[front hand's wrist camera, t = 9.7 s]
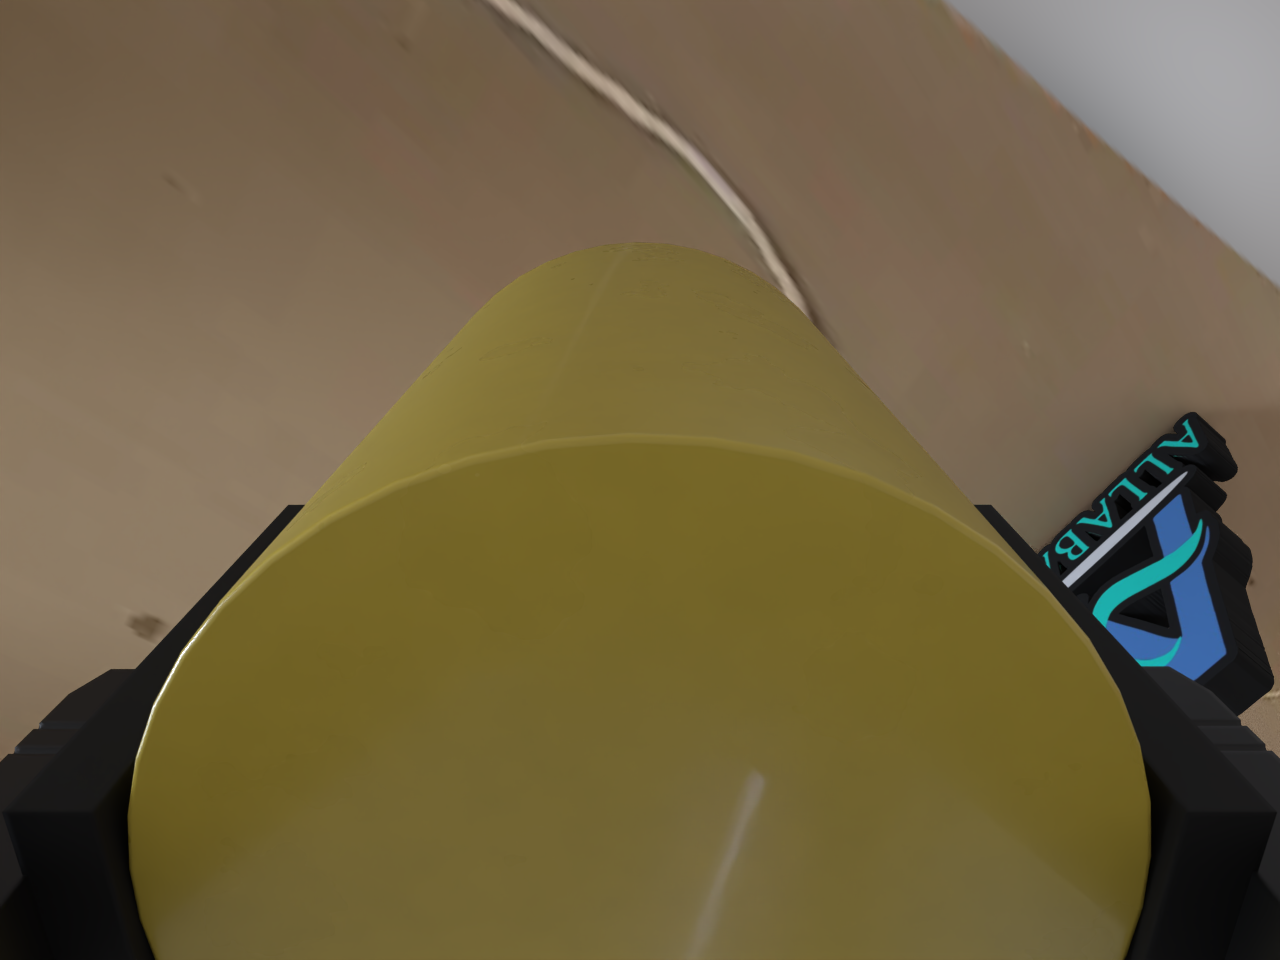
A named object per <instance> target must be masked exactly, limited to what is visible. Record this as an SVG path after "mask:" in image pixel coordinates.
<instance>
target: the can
mask: <svg viewBox="0 0 1280 960" xmlns="http://www.w3.org/2000/svg"><path fill="white" fill-rule="evenodd" d="M128 844H129V869H130V874H131V879H132V884H133V889H134V894H135V899H136V904H137V908H138V913H139V918H140V921H141V924H142V926H143V929H144V932H145V934H146V937H147V940H148V942H149V945H150V947H151V950H152V953H153V955H154V958H155V960H1124V959H1125V957H1126V955H1127V952H1128V949H1129V946H1130V943H1131V940H1132V937H1133V934H1134V931H1135V929H1136V926H1137V923H1138V920H1139V917H1140V914H1141V911H1142V908H1143V903H1144V896H1145V890H1146V884H1147V878H1148V872H1149V866H1150V860H1151V802H1150V795H1149V790H1148V785H1147V779H1146V774H1145V768H1144V763H1143V758H1142V752H1141V747H1140V743H1139V740H1138V738H1137V735H1136V732H1135V730H1134V727H1133V724H1132V722H1131V719H1130V716H1129V714H1128V711H1127V708H1126V706H1125V703H1124V700H1123V698H1122V695H1121V692H1120V690H1119V688H1118V687H1117V685H1116V683H1115V682H1114V680H1113V678H1112V676H1111V675H1110V673H1109V671H1108V670H1107V668H1106V666H1105V665H1104V663H1103V661H1102V659H1101V658H1100V656H1099V654H1098V653H1097V651H1096V649H1095V647H1094V646H1093V644H1092V642H1091V641H1090V639H1089V638H1088V636H1087V635H1086V634H1085V633H1084V632H1083V630H1082V629H1081V628H1080V627H1079V626H1078V624H1077V623H1076V622H1075V621H1074V620H1073V618H1072V617H1071V616H1070V615H1069V614H1068V612H1067V611H1066V610H1065V609H1064V608H1063V606H1062V605H1061V604H1060V603H1059V602H1058V600H1057V599H1056V598H1055V597H1054V596H1053V594H1052V593H1051V592H1050V591H1049V590H1048V588H1047V587H1046V586H1045V585H1044V584H1043V583H1042V582H1041V581H1040V579H1039V578H1038V577H1037V576H1036V575H1035V574H1034V573H1033V572H1032V570H1031V569H1030V568H1029V567H1028V566H1027V565H1026V564H1025V563H1024V561H1023V560H1022V559H1021V558H1020V557H1019V556H1018V555H1017V554H1016V552H1015V551H1014V550H1013V549H1012V548H1011V547H1010V546H1009V545H1008V543H1007V542H1006V541H1005V540H1004V539H1003V538H1002V537H1001V535H1000V534H999V533H998V532H997V531H996V530H995V529H994V528H993V526H992V525H991V524H990V523H989V522H988V521H987V520H986V519H985V517H984V516H983V515H982V514H981V513H980V512H979V511H978V510H977V508H976V507H975V506H974V505H973V504H972V503H971V502H970V501H969V499H968V498H967V497H966V496H965V495H964V494H963V493H962V492H961V490H960V489H959V488H958V487H957V486H956V485H955V484H954V482H953V481H952V480H951V479H950V478H949V477H948V476H947V475H946V473H945V472H944V471H943V470H942V469H941V468H940V467H939V466H938V464H937V463H936V462H935V461H934V460H933V459H932V458H931V457H930V455H929V454H928V453H927V452H926V451H925V450H924V449H923V448H922V446H921V445H920V444H919V443H918V442H917V441H916V440H915V439H914V437H913V436H912V435H911V434H910V433H909V432H908V431H907V429H906V428H905V427H904V426H903V425H902V424H901V423H900V422H899V420H898V419H897V418H896V417H895V416H894V415H893V414H892V413H891V411H890V410H889V409H888V408H887V407H886V406H885V405H884V404H883V402H882V401H881V400H880V399H879V398H878V397H877V396H876V395H875V393H874V392H873V391H872V390H871V389H870V388H869V387H868V386H867V384H866V383H865V382H864V381H863V380H862V379H861V378H860V376H859V375H858V374H857V373H856V372H855V371H854V370H853V369H852V367H851V366H850V365H849V364H848V363H847V362H846V361H845V360H844V358H843V357H842V356H841V355H840V354H839V353H838V352H837V351H836V349H835V348H834V347H833V346H832V345H831V344H830V343H829V342H828V340H827V339H826V338H825V337H824V336H823V335H822V334H821V332H820V331H819V330H818V329H817V328H816V327H815V326H814V325H813V323H812V322H811V321H810V320H809V319H808V318H807V317H806V316H805V314H804V313H803V312H802V311H801V310H800V309H799V308H798V307H797V306H796V305H795V304H794V303H793V302H791V301H790V300H789V299H788V298H787V297H786V296H785V295H784V294H782V293H781V292H780V291H779V290H778V289H777V288H775V287H774V286H772V285H771V284H769V283H768V282H766V281H765V280H763V279H762V278H760V277H759V276H757V275H756V274H755V273H753V272H751V271H749V270H747V269H745V268H743V267H741V266H739V265H737V264H735V263H733V262H731V261H729V260H727V259H724V258H721V257H718V256H715V255H712V254H709V253H706V252H703V251H700V250H697V249H692V248H686V247H681V246H676V245H670V244H660V243H640V242H633V243H621V244H610V245H602V246H598V247H593V248H589V249H584V250H580V251H575V252H573V253H570V254H567V255H565V256H562V257H559V258H556V259H554V260H551V261H548V262H546V263H544V264H542V265H540V266H538V267H537V268H535V269H533V270H531V271H529V272H527V273H525V274H523V275H522V276H520V277H519V278H517V279H516V280H514V281H513V282H512V283H510V284H509V285H507V286H506V287H505V288H503V289H502V290H501V291H499V292H498V293H496V294H495V295H494V296H493V297H492V298H491V299H490V300H489V301H488V302H487V303H486V304H485V305H484V306H483V307H482V308H481V309H480V310H479V311H478V312H477V313H476V314H475V315H474V316H473V317H472V318H471V319H470V320H469V321H468V323H467V324H466V325H465V326H464V327H463V328H462V329H461V330H460V332H459V333H458V334H457V335H456V336H455V337H454V338H453V339H452V341H451V342H450V343H449V344H448V345H447V346H446V347H445V348H444V350H443V351H442V352H441V353H440V354H439V355H438V356H437V357H436V359H435V360H434V361H433V362H432V363H431V364H430V365H429V366H428V368H427V369H426V370H425V371H424V372H423V373H422V374H421V375H420V377H419V378H418V379H417V380H416V381H415V382H414V383H413V384H412V386H411V387H410V388H409V389H408V390H407V391H406V392H405V393H404V395H403V396H402V397H401V398H400V399H399V400H398V401H397V402H396V404H395V405H394V406H393V407H392V408H391V409H390V410H389V411H388V413H387V414H386V415H385V416H384V417H383V418H382V419H381V420H380V422H379V423H378V424H377V425H376V426H375V427H374V428H373V429H372V431H371V432H370V433H369V434H368V435H367V436H366V437H365V438H364V440H363V441H362V442H361V443H360V444H359V445H358V446H357V447H356V449H355V450H354V451H353V452H352V453H351V454H350V455H349V456H348V458H347V459H346V460H345V461H344V462H343V463H342V464H341V465H340V467H339V468H338V469H337V470H336V471H335V472H334V473H333V474H332V476H331V477H330V478H329V479H328V480H327V481H326V482H325V483H324V485H323V486H322V487H321V488H320V489H319V490H318V491H317V492H316V494H315V495H314V496H313V497H312V498H311V499H310V500H309V501H308V503H307V504H306V505H305V506H304V507H303V508H302V509H301V510H300V512H299V513H298V514H297V515H296V516H295V517H294V518H293V519H292V521H291V522H290V523H289V524H288V525H287V526H286V527H285V528H284V530H283V531H282V532H281V533H280V534H279V535H278V536H277V537H276V539H275V540H274V541H273V542H272V543H271V544H270V545H269V546H268V548H267V549H266V550H265V551H264V552H263V553H262V554H261V555H260V557H259V558H258V559H257V560H256V561H255V562H254V563H253V564H252V566H251V567H250V568H249V569H248V570H247V571H246V572H245V573H244V575H243V576H242V577H241V578H240V579H239V580H238V581H237V582H236V584H235V585H234V586H233V587H232V588H231V589H230V590H229V591H228V593H227V594H226V595H225V596H224V597H223V598H222V599H221V600H220V602H219V603H218V604H217V606H216V607H215V608H214V609H213V611H212V612H211V613H210V615H209V616H208V617H207V619H206V620H205V621H204V622H203V624H202V625H201V626H200V628H199V629H198V630H197V632H196V633H195V634H194V635H193V637H192V638H191V639H190V641H189V642H188V643H187V645H186V646H185V647H184V648H183V650H182V651H181V653H180V655H179V657H178V659H177V660H176V662H175V664H174V666H173V668H172V670H171V672H170V674H169V675H168V677H167V679H166V681H165V683H164V685H163V687H162V689H161V690H160V692H159V694H158V696H157V698H156V700H155V702H154V704H153V707H152V710H151V713H150V716H149V719H148V722H147V725H146V728H145V731H144V734H143V737H142V740H141V743H140V746H139V749H138V752H137V755H136V760H135V767H134V774H133V781H132V788H131V795H130V802H129V809H128Z"/></svg>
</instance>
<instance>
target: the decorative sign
mask: <svg viewBox="0 0 1280 960" xmlns="http://www.w3.org/2000/svg"><path fill="white" fill-rule="evenodd" d="M1174 431H1175V432H1176V433H1177V434H1165V435H1163V436H1162V437H1160V438H1159V439H1158V440H1157V441H1156V442H1155V443H1154V444H1153V445H1152V446H1151V448H1150V449H1148V450H1147V451H1146V452H1144V453H1143V454H1142V455H1141V456H1140V457H1139V458H1138V459H1137V460H1136V461H1135V462H1134V463H1133V464H1132V465H1131V466H1130V467H1129V468H1128V469H1127V471H1126V472H1125V473H1123V474H1121V475H1120V476H1119V477H1118V478H1117V479H1116V480H1115V481H1114V482H1113V483H1112V484H1110V485H1109V486H1108V487H1107V488H1106V489H1105V491H1104V492H1103V493H1102V494H1100V495H1099V496H1098V497H1097V498H1096V499H1095V500H1094V501H1093V503H1092V509H1094V510H1095V512H1093V511H1089V510H1087V511H1083V512H1082V513H1080V514H1079V515H1078V516H1077V517H1076V518H1074V519H1073V521H1072V522H1071V523H1070V524H1069V525H1067V526H1066V527H1065V528H1064V529H1063V530H1062V531H1061V532H1060V533H1059V534H1058V535H1057V536H1056V537H1055V538H1054V540H1053V541H1052V543H1051V544H1049V545H1047V546H1045V547H1044V548H1043V549H1042V550H1041V551H1040V552H1039V553H1038V556H1039V557H1040V558H1041V559H1042V560H1043V561H1044V562H1045V563H1046V564H1047V566H1048V567H1049V568H1050V569H1051V570H1052V571H1053V572H1054V573H1055V574H1056V575H1057V576H1058V577H1059V578H1060V580H1061V581H1062V582H1063V583H1064V584H1065V585H1066V586H1067V587H1068V588H1069V589H1070V590H1071V591H1072V592H1073V593H1074V595H1075V596H1076V597H1077V598H1078V599H1079V600H1080V601H1081V602H1082V603H1083V604H1084V605H1085V606H1086V607H1087V608H1088V610H1089V611H1090V612H1091V613H1092V614H1093V615H1094V616H1095V617H1096V618H1097V619H1098V620H1099V621H1100V622H1101V623H1102V625H1103V626H1104V627H1105V628H1106V629H1107V630H1108V631H1109V632H1110V633H1111V634H1112V635H1113V636H1114V637H1115V639H1116V640H1117V641H1118V642H1119V643H1120V644H1121V645H1122V646H1123V647H1124V648H1125V649H1126V650H1127V651H1128V652H1129V654H1130V655H1131V656H1132V657H1133V658H1134V659H1135V660H1136V661H1137V662H1138V663H1139V664H1140V665H1141V666H1169V667H1171V668H1173V669H1175V670H1176V671H1178V672H1180V673H1181V674H1183V675H1185V676H1187V677H1188V678H1190V679H1192V680H1193V681H1195V682H1197V683H1198V684H1200V685H1202V686H1204V687H1205V688H1207V689H1209V690H1210V691H1212V692H1213V693H1214V694H1215V695H1216V696H1217V697H1218V698H1219V699H1220V700H1221V701H1222V702H1223V703H1224V704H1225V705H1226V706H1227V707H1228V708H1229V709H1230V710H1231V711H1232V712H1233V713H1234V714H1235V715H1236V716H1238V715H1240V714H1241V713H1243V712H1244V711H1245V710H1246V709H1248V708H1249V707H1250V706H1251V705H1252V704H1254V703H1255V702H1256V701H1257V700H1258V699H1260V698H1261V697H1262V696H1264V695H1265V694H1266V693H1268V692H1269V691H1270V690H1271V689H1272V687H1273V685H1274V676H1273V673H1272V670H1271V667H1270V665H1269V662H1268V658H1267V655H1266V652H1265V648H1264V647H1263V643H1262V640H1261V637H1260V634H1259V631H1258V628H1257V625H1256V621H1255V618H1254V615H1253V613H1252V610H1251V606H1250V603H1249V599H1248V596H1247V592H1246V585H1247V582H1248V580H1249V577H1250V574H1251V570H1252V562H1253V561H1252V554H1251V550H1250V548H1249V547H1248V546H1247V545H1246V544H1244V543H1243V541H1242V540H1241V539H1240V538H1239V537H1238V536H1237V535H1236V534H1235V533H1233V532H1232V531H1231V530H1230V529H1229V528H1228V527H1227V526H1225V525H1224V524H1223V523H1222V519H1221V517H1220V515H1219V514H1218V513H1216V511H1217V510H1218V509H1219V508H1220V507H1221V505H1222V504H1223V503H1224V502H1225V500H1226V498H1227V494H1226V492H1224V491H1223V490H1222V489H1221V488H1220V487H1219V486H1218V485H1217V484H1215V483H1214V482H1213V481H1219V482H1225V481H1227V480H1230V479H1232V478H1233V477H1234V476H1235V475H1236V473H1237V470H1238V467H1237V464H1236V463H1235V461H1234V460H1233V458H1232V455H1231V453H1230V451H1229V449H1228V448H1227V446H1226V440H1225V439H1224V438H1223V437H1222V436H1221V435H1220V434H1219V433H1218V432H1216V431H1215V430H1214V429H1213V428H1212V427H1211V426H1210V425H1209V424H1208V423H1207V422H1206V421H1204V420H1203V419H1202V418H1201V417H1200V416H1199V415H1198V414H1197V413H1195V412H1190V413H1188V414H1186V415H1184V416H1183V417H1182V418H1180V419H1179V420H1178V421H1177V423H1176V424H1175V425H1174Z"/></svg>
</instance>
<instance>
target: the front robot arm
mask: <svg viewBox="0 0 1280 960" xmlns="http://www.w3.org/2000/svg"><path fill="white" fill-rule="evenodd" d="M304 506H305V505H288V506H287V507H286V508H285V509H284V510H283V511H282V512H281V513H280V514H279V516H278V517H277V518H276V519H275V520H274V521H273V522H272V523H271V524H270V525H269V526H268V527H267V528H266V529H265V531H264V532H263V533H262V534H261V535H260V536H259V537H258V538H257V539H256V540H255V541H254V542H253V543H252V545H251V546H250V547H249V548H248V549H247V550H246V551H245V552H244V553H243V554H242V555H241V556H240V557H239V558H238V560H237V561H236V562H235V563H234V564H233V565H232V566H231V567H230V568H229V569H228V570H227V571H226V572H225V573H224V575H223V576H222V577H221V578H220V579H219V580H218V581H217V582H216V583H215V584H214V585H213V586H212V587H211V588H210V590H209V591H208V592H207V593H206V594H205V595H204V596H203V597H202V598H201V599H200V600H199V601H198V602H197V603H196V605H195V606H194V607H193V608H192V609H191V610H190V611H189V612H188V613H187V614H186V615H185V616H184V617H183V619H182V620H181V621H180V622H179V623H178V624H177V625H176V626H175V627H174V628H173V629H172V630H171V631H170V632H169V634H168V635H167V636H166V637H165V638H164V639H163V640H162V641H161V642H160V643H159V644H158V645H157V646H156V647H155V649H154V650H153V651H152V652H151V653H150V654H149V655H148V656H147V657H146V658H145V659H144V660H143V661H142V662H141V664H140V665H139V666H138V667H137V668H136V669H111V670H109V671H107V672H105V673H104V674H102V675H100V676H99V677H97V678H95V679H94V680H92V681H90V682H89V683H87V684H85V685H83V686H82V687H80V688H78V689H77V690H75V691H73V692H72V693H70V694H68V695H67V696H66V697H65V698H64V699H63V700H62V701H61V702H60V703H59V704H58V705H57V706H56V707H55V708H54V709H53V710H52V711H51V712H50V713H49V714H48V715H47V716H46V717H45V718H44V719H43V720H42V721H41V722H40V723H39V725H40V726H39V729H33V730H32V731H31V732H30V733H29V734H28V735H27V736H26V737H25V738H24V739H23V740H22V741H21V742H20V743H19V744H18V745H17V746H16V747H15V752H14V754H8V755H7V756H6V757H5V758H4V759H3V760H2V761H1V762H0V960H155V958H154V955H153V953H152V950H151V947H150V945H149V942H148V940H147V937H146V934H145V932H144V929H143V926H142V924H141V921H140V918H139V913H138V908H137V904H136V899H135V894H134V889H133V884H132V879H131V874H130V869H129V844H128V809H129V802H130V795H131V788H132V781H133V774H134V767H135V760H136V755H137V752H138V749H139V746H140V743H141V740H142V737H143V734H144V731H145V728H146V725H147V722H148V719H149V716H150V713H151V710H152V707H153V704H154V702H155V700H156V698H157V696H158V694H159V692H160V690H161V689H162V687H163V685H164V683H165V681H166V679H167V677H168V675H169V674H170V672H171V670H172V668H173V666H174V664H175V662H176V660H177V659H178V657H179V655H180V653H181V651H182V650H183V648H184V647H185V646H186V645H187V643H188V642H189V641H190V639H191V638H192V637H193V635H194V634H195V633H196V632H197V630H198V629H199V628H200V626H201V625H202V624H203V622H204V621H205V620H206V619H207V617H208V616H209V615H210V613H211V612H212V611H213V609H214V608H215V607H216V606H217V604H218V603H219V602H220V600H221V599H222V598H223V597H224V596H225V595H226V594H227V593H228V591H229V590H230V589H231V588H232V587H233V586H234V585H235V584H236V582H237V581H238V580H239V579H240V578H241V577H242V576H243V575H244V573H245V572H246V571H247V570H248V569H249V568H250V567H251V566H252V564H253V563H254V562H255V561H256V560H257V559H258V558H259V557H260V555H261V554H262V553H263V552H264V551H265V550H266V549H267V548H268V546H269V545H270V544H271V543H272V542H273V541H274V540H275V539H276V537H277V536H278V535H279V534H280V533H281V532H282V531H283V530H284V528H285V527H286V526H287V525H288V524H289V523H290V522H291V521H292V519H293V518H294V517H295V516H296V515H297V514H298V513H299V512H300V510H301V509H302V508H303V507H304ZM974 506H975V507H976V508H977V510H978V511H979V512H980V513H981V514H982V515H983V516H984V517H985V519H986V520H987V521H988V522H989V523H990V524H991V525H992V526H993V528H994V529H995V530H996V531H997V532H998V533H999V534H1000V535H1001V537H1002V538H1003V539H1004V540H1005V541H1006V542H1007V543H1008V545H1009V546H1010V547H1011V548H1012V549H1013V550H1014V551H1015V552H1016V554H1017V555H1018V556H1019V557H1020V558H1021V559H1022V560H1023V561H1024V563H1025V564H1026V565H1027V566H1028V567H1029V568H1030V569H1031V570H1032V572H1033V573H1034V574H1035V575H1036V576H1037V577H1038V578H1039V579H1040V581H1041V582H1042V583H1043V584H1044V585H1045V586H1046V587H1047V588H1048V590H1049V591H1050V592H1051V593H1052V594H1053V596H1054V597H1055V598H1056V599H1057V600H1058V602H1059V603H1060V604H1061V605H1062V606H1063V608H1064V609H1065V610H1066V611H1067V612H1068V614H1069V615H1070V616H1071V617H1072V618H1073V620H1074V621H1075V622H1076V623H1077V624H1078V626H1079V627H1080V628H1081V629H1082V630H1083V632H1084V633H1085V634H1086V635H1087V636H1088V638H1089V639H1090V641H1091V642H1092V644H1093V646H1094V647H1095V649H1096V651H1097V653H1098V654H1099V656H1100V658H1101V659H1102V661H1103V663H1104V665H1105V666H1106V668H1107V670H1108V671H1109V673H1110V675H1111V676H1112V678H1113V680H1114V682H1115V683H1116V685H1117V687H1118V688H1119V690H1120V692H1121V695H1122V698H1123V700H1124V703H1125V706H1126V708H1127V711H1128V714H1129V716H1130V719H1131V722H1132V724H1133V727H1134V730H1135V732H1136V735H1137V738H1138V740H1139V743H1140V747H1141V752H1142V758H1143V763H1144V768H1145V774H1146V779H1147V785H1148V790H1149V795H1150V802H1151V860H1150V866H1149V872H1148V878H1147V884H1146V890H1145V896H1144V903H1143V908H1142V911H1141V914H1140V917H1139V920H1138V923H1137V926H1136V929H1135V931H1134V934H1133V937H1132V940H1131V943H1130V946H1129V949H1128V952H1127V955H1126V957H1125V959H1124V960H1280V758H1279V757H1278V756H1277V755H1276V754H1275V753H1274V752H1273V751H1267V750H1266V748H1265V744H1264V743H1263V742H1262V741H1261V740H1260V739H1259V738H1258V737H1257V736H1256V735H1255V734H1254V733H1253V732H1252V731H1251V730H1250V729H1249V728H1248V727H1247V726H1242V725H1241V720H1240V719H1239V718H1238V717H1237V716H1236V715H1235V714H1234V713H1233V712H1232V711H1231V710H1230V709H1229V708H1228V707H1227V706H1226V705H1225V704H1224V703H1223V702H1222V701H1221V700H1220V699H1219V698H1218V697H1217V696H1216V695H1215V694H1214V693H1213V692H1212V691H1210V690H1209V689H1207V688H1205V687H1204V686H1202V685H1200V684H1198V683H1197V682H1195V681H1193V680H1192V679H1190V678H1188V677H1187V676H1185V675H1183V674H1181V673H1180V672H1178V671H1176V670H1175V669H1173V668H1171V667H1169V666H1141V665H1140V664H1139V663H1138V662H1137V661H1136V660H1135V659H1134V658H1133V657H1132V656H1131V655H1130V654H1129V652H1128V651H1127V650H1126V649H1125V648H1124V647H1123V646H1122V645H1121V644H1120V643H1119V642H1118V641H1117V640H1116V639H1115V637H1114V636H1113V635H1112V634H1111V633H1110V632H1109V631H1108V630H1107V629H1106V628H1105V627H1104V626H1103V625H1102V623H1101V622H1100V621H1099V620H1098V619H1097V618H1096V617H1095V616H1094V615H1093V614H1092V613H1091V612H1090V611H1089V610H1088V608H1087V607H1086V606H1085V605H1084V604H1083V603H1082V602H1081V601H1080V600H1079V599H1078V598H1077V597H1076V596H1075V595H1074V593H1073V592H1072V591H1071V590H1070V589H1069V588H1068V587H1067V586H1066V585H1065V584H1064V583H1063V582H1062V581H1061V580H1060V578H1059V577H1058V576H1057V575H1056V574H1055V573H1054V572H1053V571H1052V570H1051V569H1050V568H1049V567H1048V566H1047V564H1046V563H1045V562H1044V561H1043V560H1042V559H1041V558H1040V557H1039V556H1038V555H1037V554H1036V553H1035V552H1034V551H1033V549H1032V548H1031V547H1030V546H1029V545H1028V544H1027V543H1026V542H1025V541H1024V540H1023V539H1022V538H1021V537H1020V536H1019V534H1018V533H1017V532H1016V531H1015V530H1014V529H1013V528H1012V527H1011V526H1010V525H1009V524H1008V523H1007V522H1006V520H1005V519H1004V518H1003V517H1002V516H1001V515H1000V514H999V513H998V512H997V511H996V510H995V509H994V508H993V507H992V505H974Z"/></svg>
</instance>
